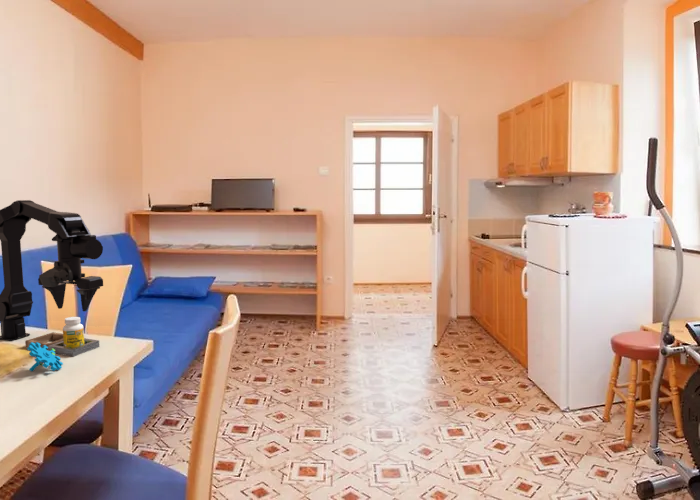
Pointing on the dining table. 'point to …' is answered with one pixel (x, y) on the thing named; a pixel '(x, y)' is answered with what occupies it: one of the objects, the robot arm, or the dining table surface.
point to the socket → (60, 349)
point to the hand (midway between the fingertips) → (72, 309)
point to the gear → (44, 357)
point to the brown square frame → (46, 339)
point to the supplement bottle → (73, 332)
